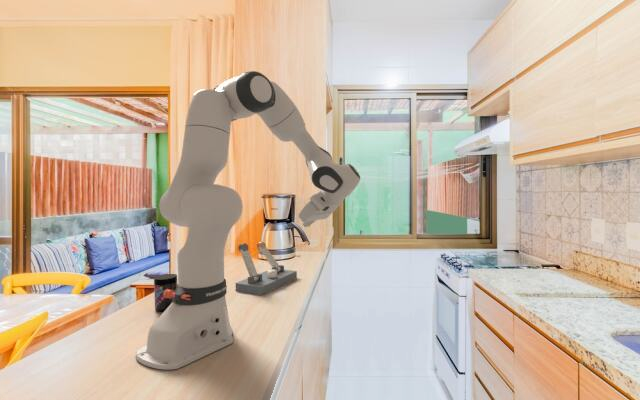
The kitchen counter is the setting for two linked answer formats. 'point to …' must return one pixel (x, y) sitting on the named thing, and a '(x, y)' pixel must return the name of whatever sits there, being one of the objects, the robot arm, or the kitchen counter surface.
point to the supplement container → (160, 286)
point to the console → (266, 282)
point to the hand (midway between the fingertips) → (305, 225)
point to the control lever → (268, 256)
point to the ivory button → (272, 273)
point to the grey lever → (248, 261)
